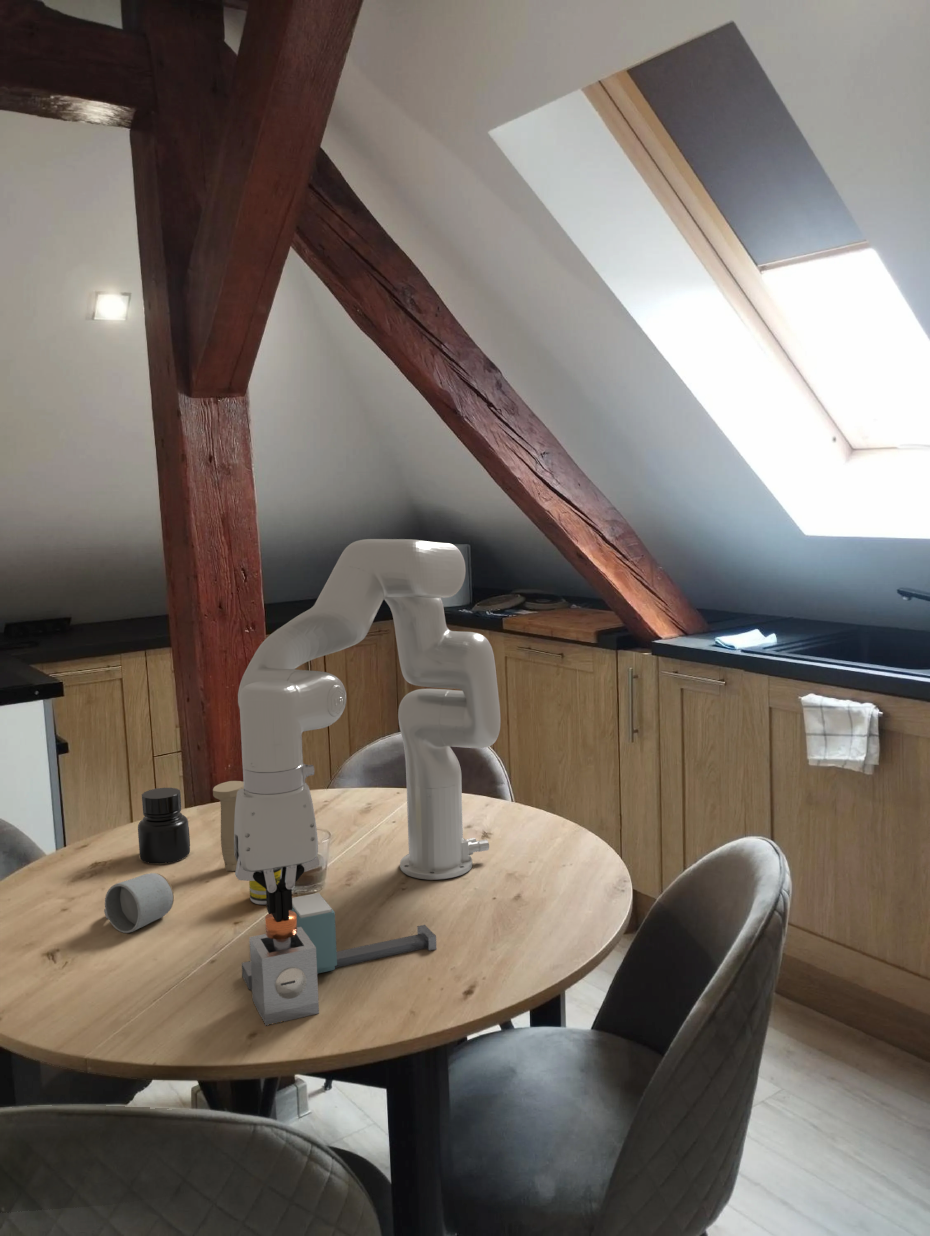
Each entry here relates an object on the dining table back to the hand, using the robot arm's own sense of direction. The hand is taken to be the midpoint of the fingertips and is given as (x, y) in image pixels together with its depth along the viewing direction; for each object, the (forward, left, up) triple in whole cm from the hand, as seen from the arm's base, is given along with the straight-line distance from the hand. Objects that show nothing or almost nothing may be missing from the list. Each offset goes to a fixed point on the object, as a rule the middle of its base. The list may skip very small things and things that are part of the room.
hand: (280, 916), depth 140 cm
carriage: (-6, -9, -13) cm, 17 cm away
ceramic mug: (+14, -37, -13) cm, 42 cm away
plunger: (0, 0, -8) cm, 8 cm away
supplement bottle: (-7, -37, -13) cm, 39 cm away
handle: (-5, -53, -13) cm, 54 cm away
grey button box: (0, 0, -13) cm, 13 cm away
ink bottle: (+5, -65, -13) cm, 66 cm away
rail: (-11, -9, -13) cm, 19 cm away
